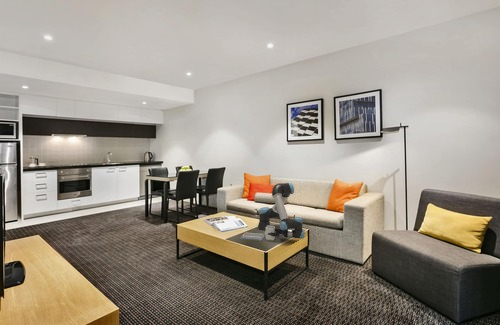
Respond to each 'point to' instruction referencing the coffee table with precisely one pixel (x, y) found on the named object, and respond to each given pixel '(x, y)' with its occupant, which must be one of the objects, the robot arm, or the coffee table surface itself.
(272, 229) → the module
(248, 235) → the mounting board
